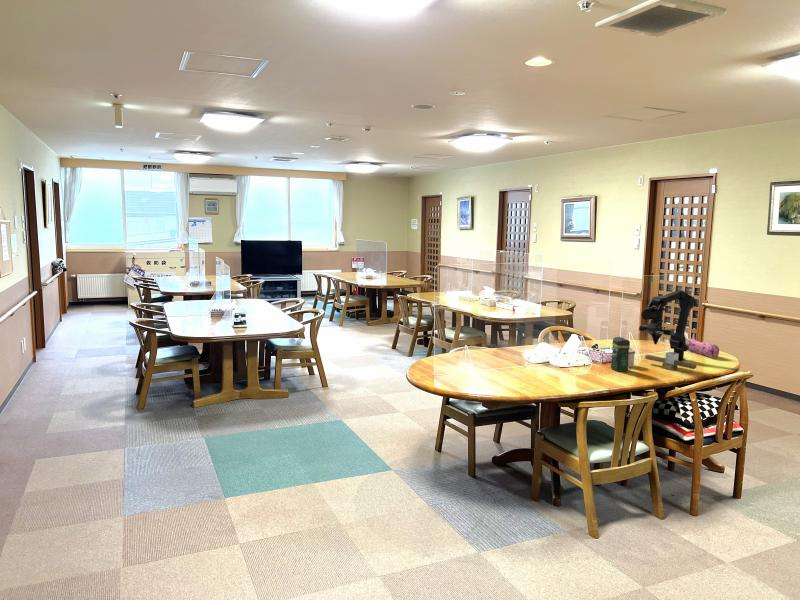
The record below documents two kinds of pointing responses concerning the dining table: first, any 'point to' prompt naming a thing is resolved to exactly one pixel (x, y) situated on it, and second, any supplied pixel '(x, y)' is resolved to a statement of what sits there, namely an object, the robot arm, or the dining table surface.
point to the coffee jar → (620, 354)
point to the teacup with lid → (631, 357)
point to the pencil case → (703, 348)
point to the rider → (671, 357)
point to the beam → (670, 366)
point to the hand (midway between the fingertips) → (655, 344)
